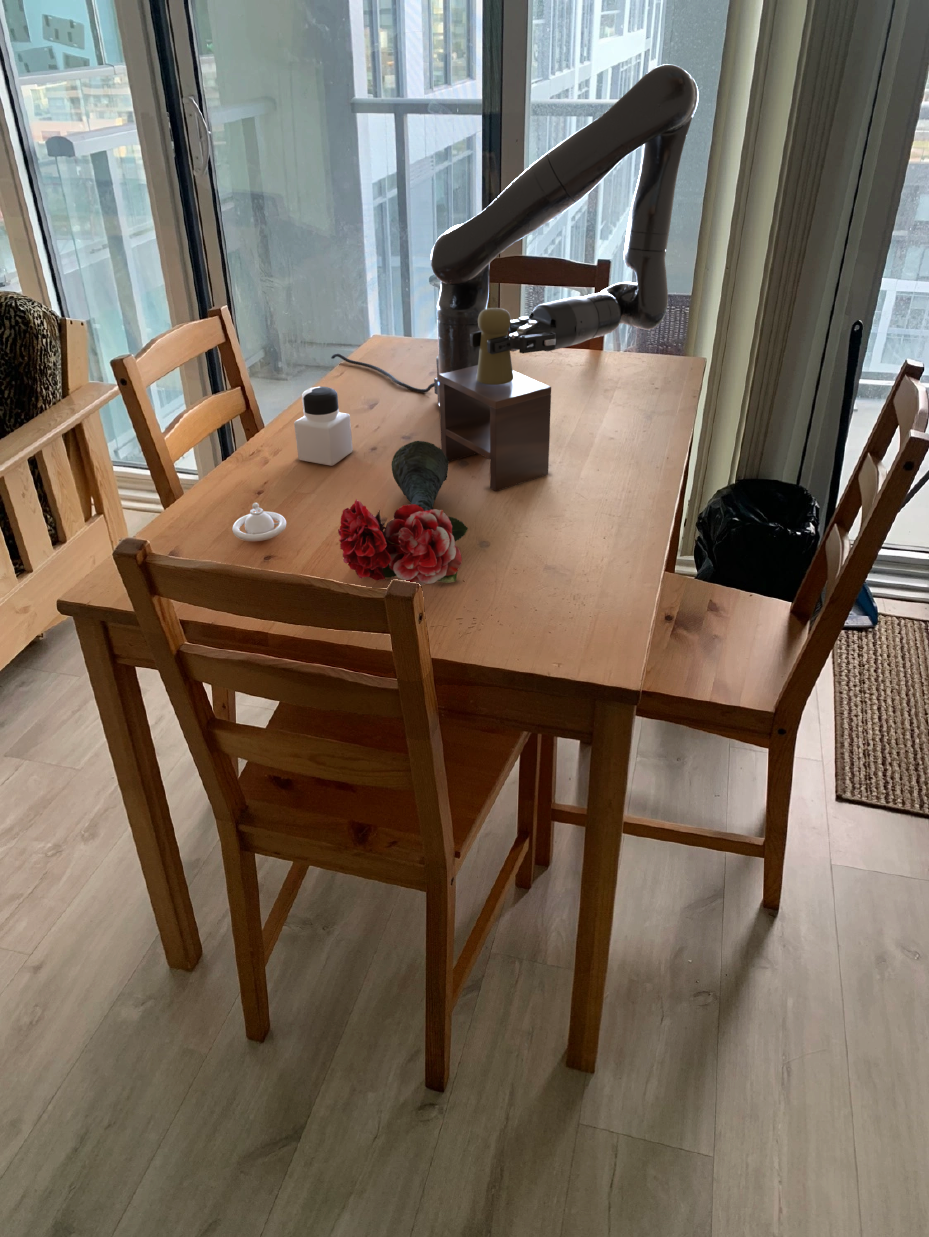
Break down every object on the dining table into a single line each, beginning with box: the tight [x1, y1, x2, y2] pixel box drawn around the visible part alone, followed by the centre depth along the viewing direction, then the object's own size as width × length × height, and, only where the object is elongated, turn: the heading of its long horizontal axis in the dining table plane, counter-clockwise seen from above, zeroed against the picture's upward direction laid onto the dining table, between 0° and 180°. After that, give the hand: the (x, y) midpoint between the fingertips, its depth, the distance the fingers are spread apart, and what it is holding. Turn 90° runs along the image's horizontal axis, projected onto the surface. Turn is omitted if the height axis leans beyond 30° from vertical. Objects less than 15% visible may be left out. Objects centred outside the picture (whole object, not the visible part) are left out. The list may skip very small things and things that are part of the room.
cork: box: [477, 307, 514, 385], centre depth 149 cm, size 6×6×11 cm
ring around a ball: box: [232, 502, 287, 542], centre depth 139 cm, size 8×6×8 cm
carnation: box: [337, 440, 469, 586], centre depth 135 cm, size 16×18×35 cm
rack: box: [439, 365, 552, 492], centre depth 156 cm, size 16×11×15 cm
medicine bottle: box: [293, 386, 354, 467], centre depth 162 cm, size 7×7×12 cm
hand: (480, 343), depth 147 cm, fingers closed on cork, 4 cm apart
